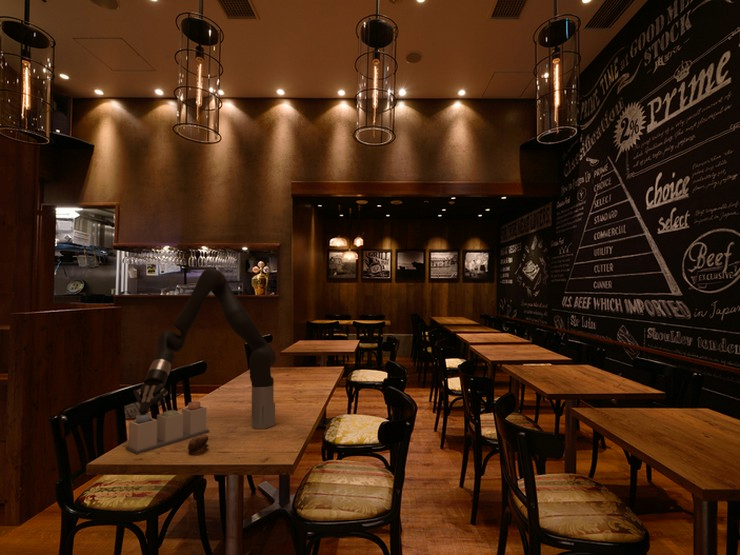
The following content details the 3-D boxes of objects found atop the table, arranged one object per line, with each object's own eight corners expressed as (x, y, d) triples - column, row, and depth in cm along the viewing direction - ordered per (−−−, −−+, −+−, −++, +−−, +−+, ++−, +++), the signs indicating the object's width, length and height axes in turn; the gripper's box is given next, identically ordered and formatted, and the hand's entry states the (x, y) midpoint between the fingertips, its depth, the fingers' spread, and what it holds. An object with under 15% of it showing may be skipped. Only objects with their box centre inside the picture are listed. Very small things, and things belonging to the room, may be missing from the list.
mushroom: (217, 438, 147) (206, 426, 145) (210, 454, 139) (198, 442, 137) (200, 447, 148) (189, 435, 146) (191, 463, 140) (180, 452, 138)
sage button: (178, 419, 155) (178, 411, 155) (167, 422, 151) (167, 414, 151) (172, 417, 158) (172, 409, 158) (161, 420, 154) (161, 412, 154)
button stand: (209, 432, 163) (209, 407, 163) (136, 454, 140) (137, 425, 140) (197, 428, 168) (197, 404, 168) (125, 449, 145) (126, 421, 146)
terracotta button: (202, 409, 163) (202, 402, 163) (192, 412, 159) (192, 404, 159) (196, 408, 166) (196, 400, 166) (185, 410, 162) (185, 403, 162)
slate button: (152, 422, 147) (152, 414, 147) (139, 425, 143) (139, 417, 143) (146, 420, 150) (146, 412, 150) (133, 423, 146) (133, 415, 146)
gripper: (138, 368, 156) (119, 408, 143) (172, 367, 157) (157, 407, 144) (144, 379, 161) (127, 419, 148) (177, 378, 162) (163, 418, 149)
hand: (142, 413), depth 146 cm, fingers closed
